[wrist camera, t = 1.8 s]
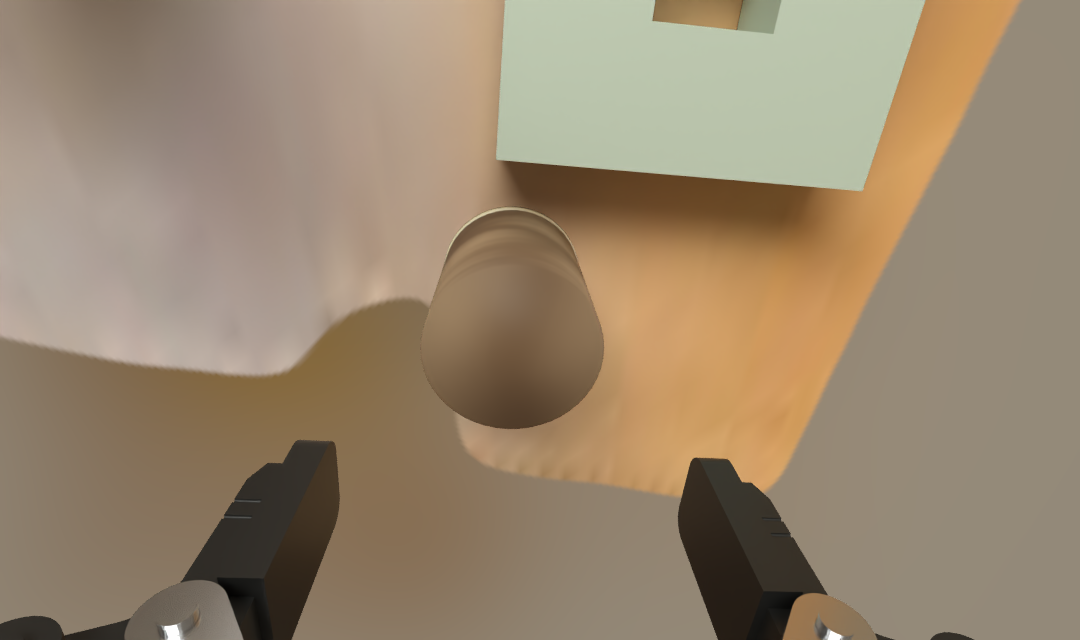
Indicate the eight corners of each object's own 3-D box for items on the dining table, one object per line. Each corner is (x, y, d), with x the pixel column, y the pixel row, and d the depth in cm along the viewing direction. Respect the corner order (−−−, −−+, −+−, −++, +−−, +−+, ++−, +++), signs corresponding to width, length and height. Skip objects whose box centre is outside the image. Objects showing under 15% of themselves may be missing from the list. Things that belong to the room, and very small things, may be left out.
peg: (450, 299, 29) (418, 426, 19) (453, 184, 27) (418, 257, 16) (563, 306, 30) (592, 433, 20) (576, 194, 27) (618, 271, 17)
